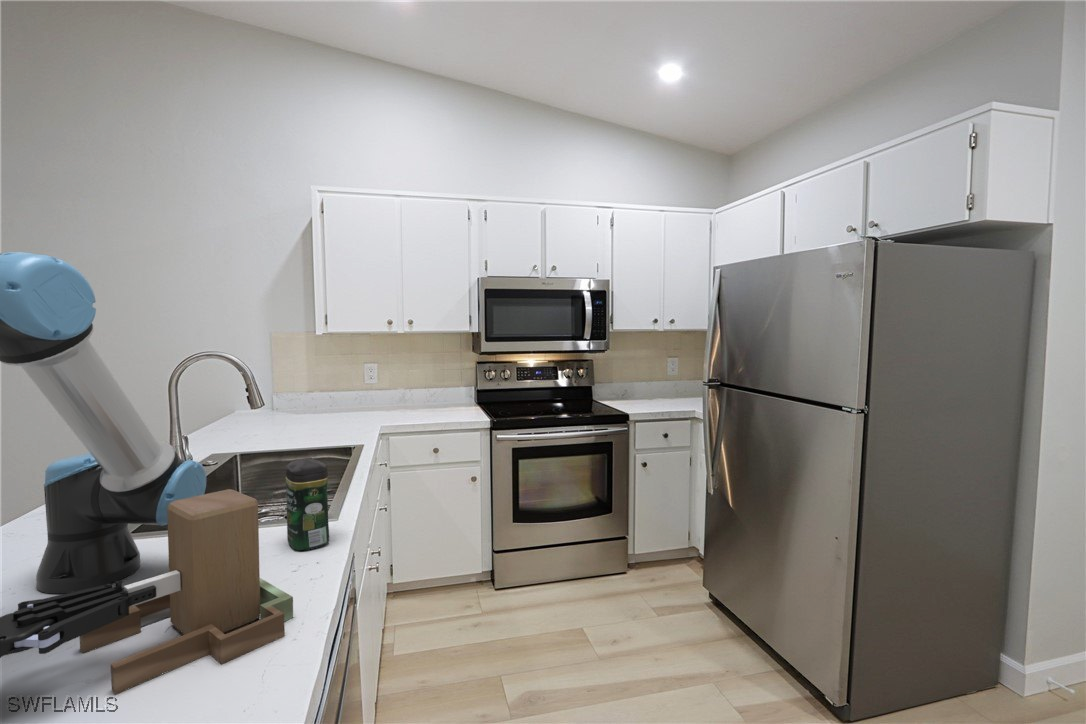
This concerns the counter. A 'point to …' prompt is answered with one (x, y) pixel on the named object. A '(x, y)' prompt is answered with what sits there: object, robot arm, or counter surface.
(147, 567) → the counter surface
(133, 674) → the trap lane
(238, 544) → the block
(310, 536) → the coffee jar
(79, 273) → the robot arm
